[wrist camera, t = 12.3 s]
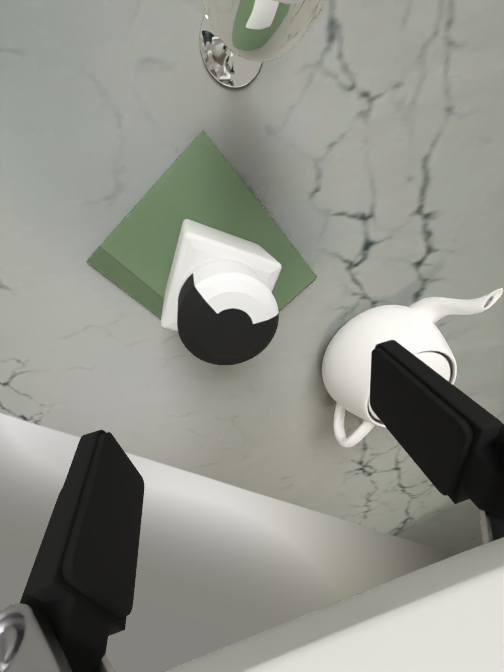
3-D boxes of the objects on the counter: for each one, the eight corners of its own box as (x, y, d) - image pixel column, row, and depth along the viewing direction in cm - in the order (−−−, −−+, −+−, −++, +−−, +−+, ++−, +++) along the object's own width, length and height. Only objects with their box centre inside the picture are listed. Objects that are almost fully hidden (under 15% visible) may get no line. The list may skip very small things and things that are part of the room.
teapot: (354, 418, 42) (402, 486, 32) (277, 394, 36) (310, 468, 27) (463, 287, 34) (566, 328, 25) (388, 233, 29) (485, 260, 20)
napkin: (87, 260, 24) (85, 262, 24) (202, 130, 21) (203, 129, 21) (219, 362, 32) (220, 364, 32) (316, 276, 29) (317, 277, 29)
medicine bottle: (235, 313, 29) (264, 387, 19) (164, 294, 27) (153, 368, 16) (260, 244, 26) (311, 288, 16) (183, 217, 24) (185, 247, 14)
